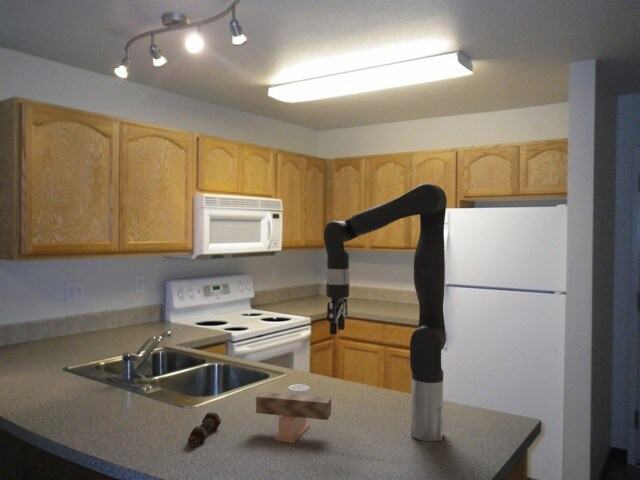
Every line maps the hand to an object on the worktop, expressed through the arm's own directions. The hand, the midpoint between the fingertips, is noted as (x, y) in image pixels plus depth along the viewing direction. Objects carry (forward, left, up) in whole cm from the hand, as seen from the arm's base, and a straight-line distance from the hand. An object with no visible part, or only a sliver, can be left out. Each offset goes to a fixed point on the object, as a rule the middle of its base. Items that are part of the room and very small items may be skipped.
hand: (337, 331), depth 173 cm
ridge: (+8, +18, -28) cm, 34 cm away
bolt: (+31, +30, -28) cm, 52 cm away
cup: (+15, -1, -28) cm, 32 cm away
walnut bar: (+8, +18, -22) cm, 29 cm away
